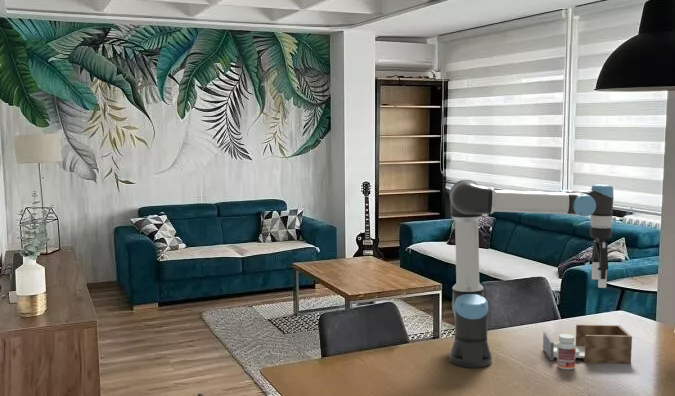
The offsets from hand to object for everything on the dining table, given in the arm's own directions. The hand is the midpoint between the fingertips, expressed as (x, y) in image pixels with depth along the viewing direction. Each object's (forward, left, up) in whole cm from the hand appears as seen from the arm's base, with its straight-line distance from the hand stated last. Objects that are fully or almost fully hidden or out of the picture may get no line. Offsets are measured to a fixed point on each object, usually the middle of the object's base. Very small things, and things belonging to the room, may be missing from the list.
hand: (598, 283), depth 265 cm
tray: (-11, -4, -26) cm, 29 cm away
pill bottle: (-15, -16, -27) cm, 35 cm away
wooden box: (+1, -4, -27) cm, 27 cm away
